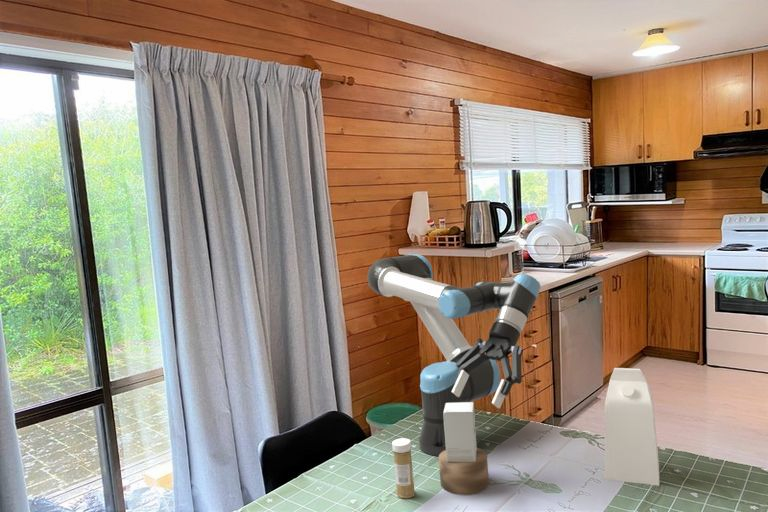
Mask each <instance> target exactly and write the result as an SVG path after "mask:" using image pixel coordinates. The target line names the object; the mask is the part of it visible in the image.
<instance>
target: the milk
mask: <svg viewBox="0 0 768 512" xmlns="http://www.w3.org/2000/svg"><path fill="white" fill-rule="evenodd" d="M605 396H606V397H605V401H604V480H608V481H617V482H627V483H633V484H642V485H651V486H659V487H660V463H659V462H660V461H659V451H658V441H657V439H658V438H657V430H656V429H657V428H656V418H655V405H654V397H653V391H652V389H651V387H650V385H649V382H648V381H647V379H646V377H645V375H644V373H643V371H642V370H641V368H629V367H627V368H626V367H614V368H613V370H612V373H611V376H610V379H609V383H608V387H607V391H606V395H605Z"/></svg>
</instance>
